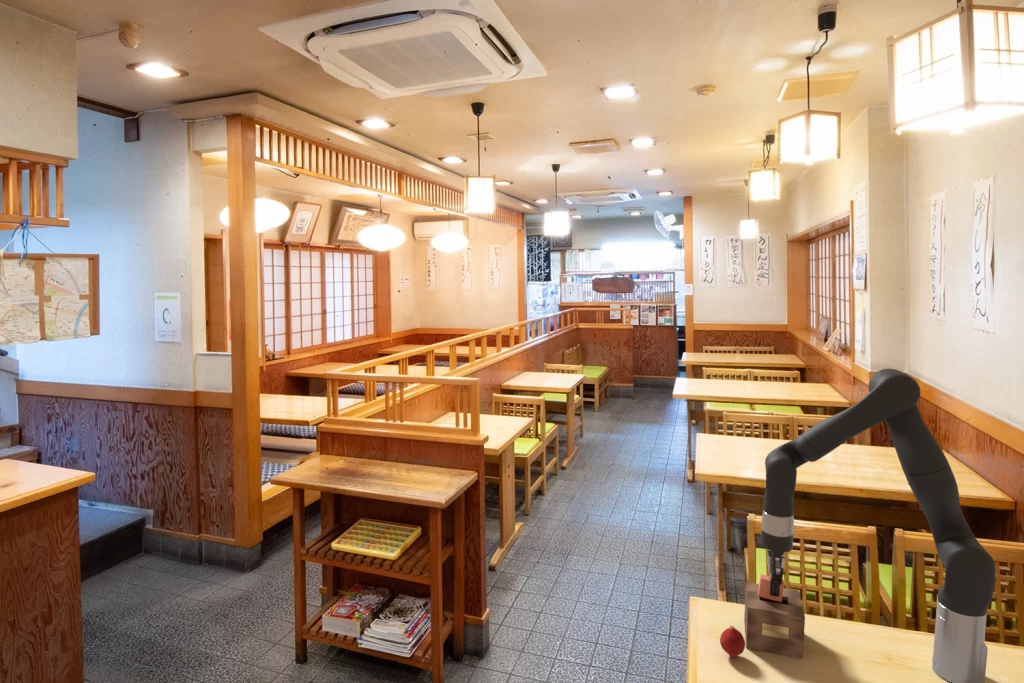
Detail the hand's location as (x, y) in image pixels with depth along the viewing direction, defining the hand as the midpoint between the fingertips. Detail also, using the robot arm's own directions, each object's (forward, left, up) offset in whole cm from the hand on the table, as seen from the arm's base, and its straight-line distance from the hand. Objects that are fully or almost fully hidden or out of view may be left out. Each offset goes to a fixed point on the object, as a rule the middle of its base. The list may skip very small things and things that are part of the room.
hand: (774, 592), depth 152 cm
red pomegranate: (+10, +11, -13) cm, 20 cm away
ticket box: (0, 0, -13) cm, 13 cm away
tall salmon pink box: (+4, 0, +1) cm, 4 cm away
